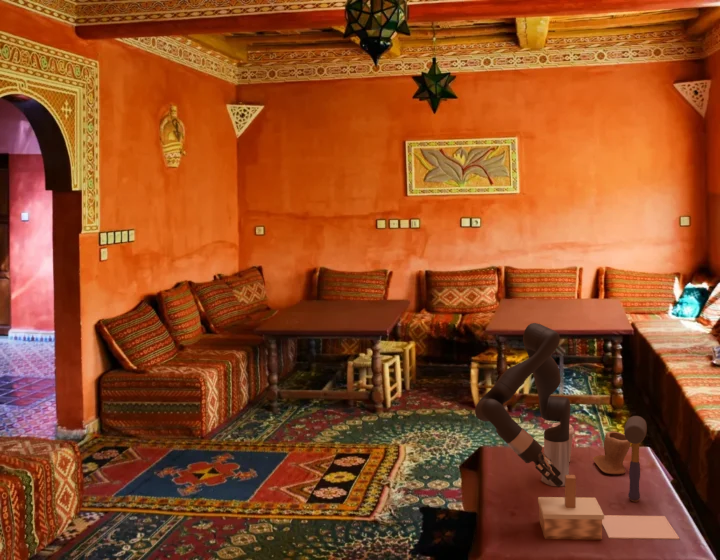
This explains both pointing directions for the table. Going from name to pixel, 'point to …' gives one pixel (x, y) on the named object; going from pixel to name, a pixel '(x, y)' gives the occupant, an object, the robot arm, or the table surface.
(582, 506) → the lid
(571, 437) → the coffee cup
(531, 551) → the table surface
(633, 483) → the rubber mallet
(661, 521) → the mat
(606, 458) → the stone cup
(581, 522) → the wooden box
